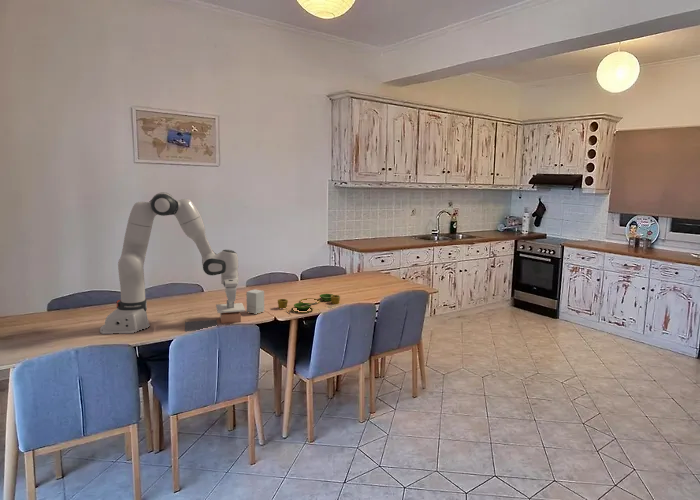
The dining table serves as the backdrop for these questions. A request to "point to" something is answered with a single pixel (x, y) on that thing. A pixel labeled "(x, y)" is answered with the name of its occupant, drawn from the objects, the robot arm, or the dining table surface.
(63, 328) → the dining table surface
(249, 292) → the supplement box
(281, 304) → the tableware set
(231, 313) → the brown open box
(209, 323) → the mat
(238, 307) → the lid
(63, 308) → the dining table surface
